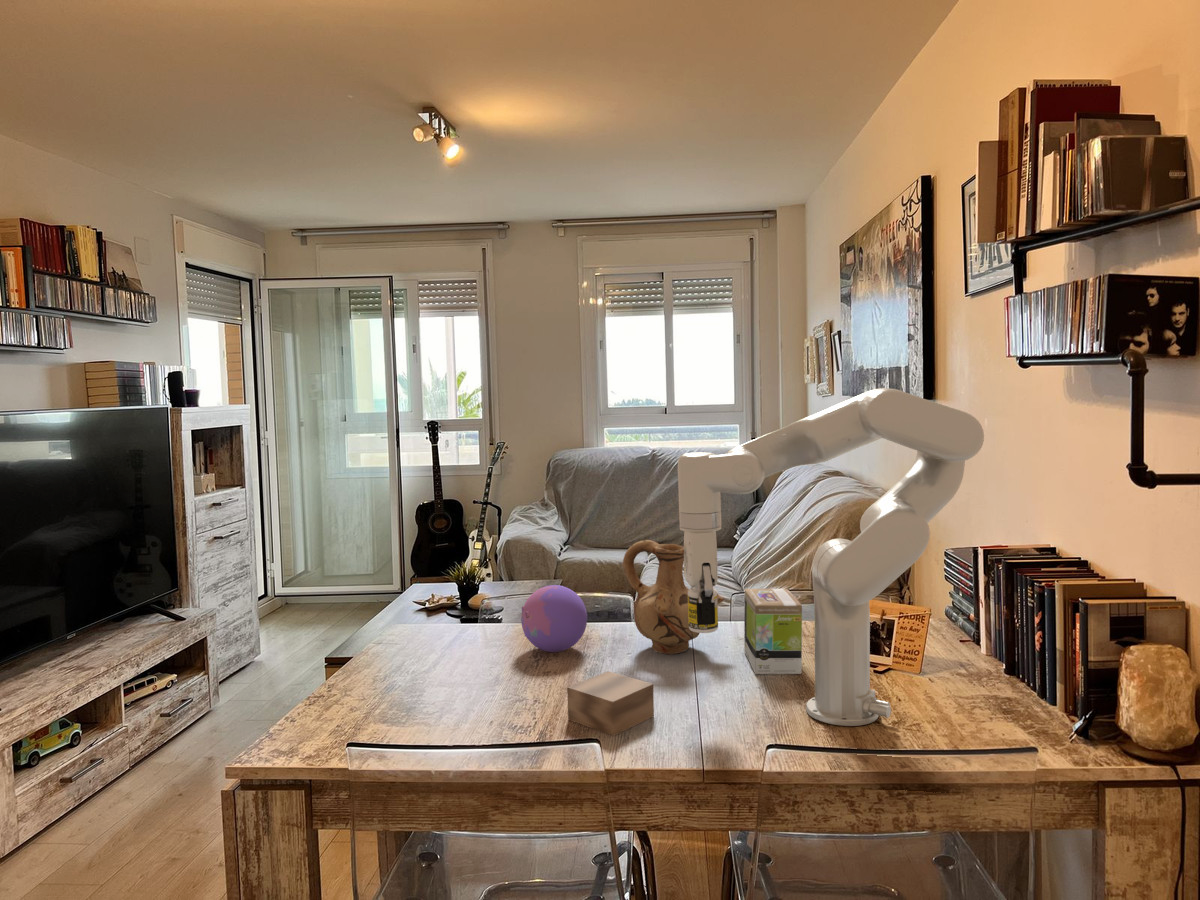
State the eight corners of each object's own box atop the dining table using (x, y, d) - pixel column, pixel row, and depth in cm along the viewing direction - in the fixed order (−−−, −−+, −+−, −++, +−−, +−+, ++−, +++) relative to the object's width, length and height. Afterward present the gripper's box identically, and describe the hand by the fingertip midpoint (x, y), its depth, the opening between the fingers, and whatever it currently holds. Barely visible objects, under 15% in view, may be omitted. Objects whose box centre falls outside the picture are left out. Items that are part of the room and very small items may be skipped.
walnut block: (653, 716, 151) (653, 683, 151) (613, 735, 143) (612, 701, 143) (608, 701, 159) (608, 671, 158) (568, 719, 151) (567, 687, 150)
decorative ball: (513, 646, 194) (511, 583, 193) (572, 637, 201) (570, 575, 200) (535, 665, 181) (533, 597, 180) (598, 654, 187) (596, 588, 186)
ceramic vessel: (664, 667, 177) (662, 551, 175) (610, 646, 193) (608, 539, 191) (725, 650, 188) (725, 540, 186) (670, 631, 203) (669, 530, 201)
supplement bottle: (684, 632, 151) (682, 579, 150) (695, 624, 156) (693, 572, 155) (712, 635, 148) (710, 581, 148) (722, 626, 153) (720, 574, 152)
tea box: (803, 675, 171) (803, 604, 170) (754, 675, 171) (753, 605, 170) (788, 651, 186) (788, 586, 185) (743, 652, 186) (742, 587, 185)
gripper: (673, 514, 159) (676, 608, 160) (686, 529, 142) (689, 634, 143) (712, 513, 159) (715, 606, 160) (730, 527, 142) (733, 632, 143)
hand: (703, 618), depth 152 cm, fingers closed on supplement bottle, 5 cm apart
